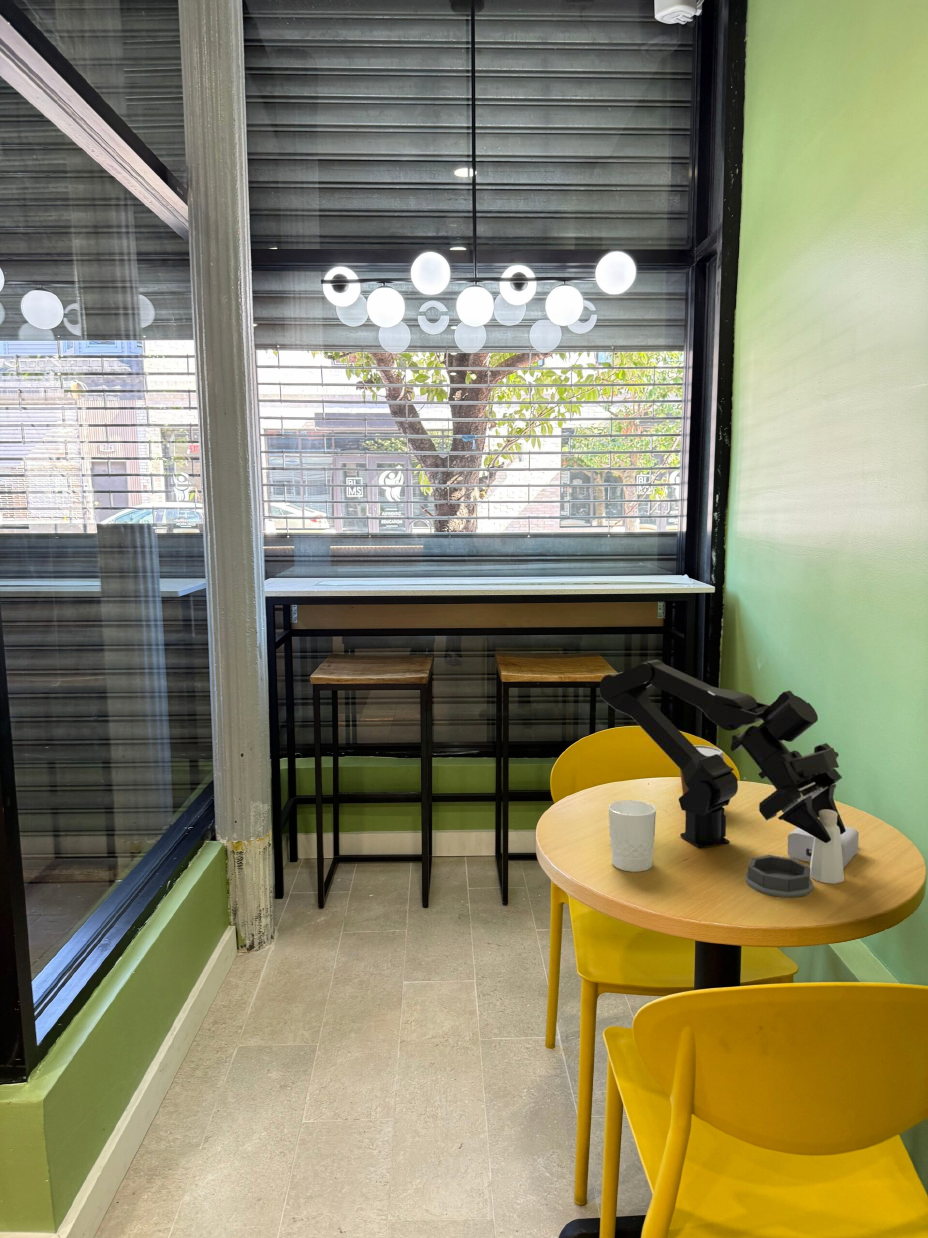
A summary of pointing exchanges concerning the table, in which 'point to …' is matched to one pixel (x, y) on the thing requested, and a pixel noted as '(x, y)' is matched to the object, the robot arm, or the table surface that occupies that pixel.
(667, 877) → the table surface
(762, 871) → the grey octagonal tray
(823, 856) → the pepper shaker
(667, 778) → the table surface
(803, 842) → the charger
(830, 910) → the table surface
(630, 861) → the white cup
